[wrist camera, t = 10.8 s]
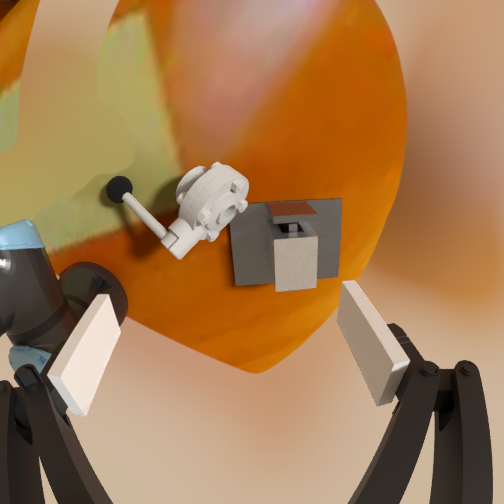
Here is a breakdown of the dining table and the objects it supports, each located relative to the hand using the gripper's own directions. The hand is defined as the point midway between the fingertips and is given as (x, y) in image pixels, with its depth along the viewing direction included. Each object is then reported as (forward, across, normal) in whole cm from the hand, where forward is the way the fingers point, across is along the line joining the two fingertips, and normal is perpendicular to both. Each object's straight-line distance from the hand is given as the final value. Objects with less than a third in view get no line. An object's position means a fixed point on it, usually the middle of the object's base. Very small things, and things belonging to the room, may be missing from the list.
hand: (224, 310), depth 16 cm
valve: (+31, -8, +1) cm, 32 cm away
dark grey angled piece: (+31, +9, -9) cm, 33 cm away
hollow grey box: (+30, +9, -9) cm, 33 cm away
